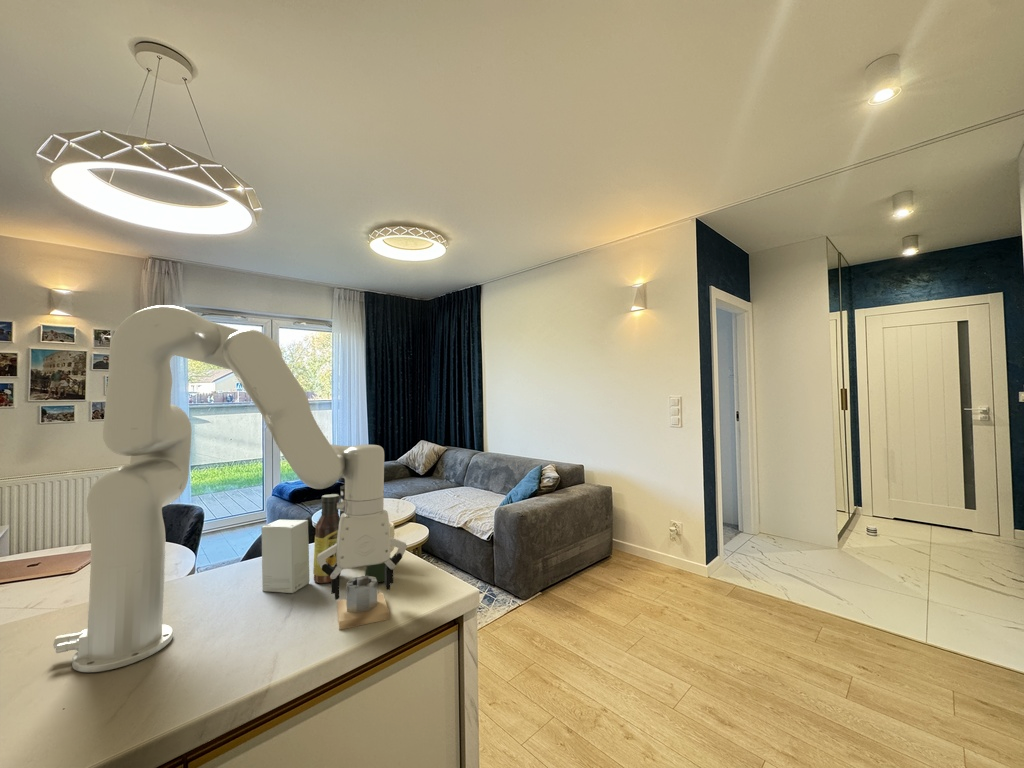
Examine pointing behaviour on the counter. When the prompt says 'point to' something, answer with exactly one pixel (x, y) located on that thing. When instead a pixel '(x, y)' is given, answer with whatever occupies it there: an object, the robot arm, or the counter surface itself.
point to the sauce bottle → (326, 535)
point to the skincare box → (285, 556)
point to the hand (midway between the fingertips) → (362, 591)
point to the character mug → (379, 569)
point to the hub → (361, 596)
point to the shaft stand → (363, 618)
